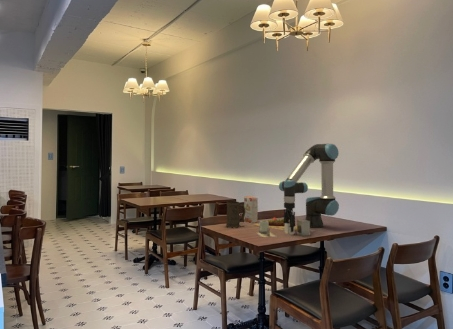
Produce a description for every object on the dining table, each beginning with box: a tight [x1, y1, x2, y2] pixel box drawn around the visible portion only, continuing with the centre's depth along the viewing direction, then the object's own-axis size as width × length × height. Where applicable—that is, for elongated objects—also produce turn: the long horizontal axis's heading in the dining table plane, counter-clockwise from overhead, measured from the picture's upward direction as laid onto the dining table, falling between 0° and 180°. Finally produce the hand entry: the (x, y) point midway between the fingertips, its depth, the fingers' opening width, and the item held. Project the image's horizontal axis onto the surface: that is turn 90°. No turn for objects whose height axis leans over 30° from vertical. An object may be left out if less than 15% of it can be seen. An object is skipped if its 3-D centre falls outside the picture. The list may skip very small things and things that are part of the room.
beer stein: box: [225, 200, 245, 228], centre depth 285 cm, size 15×11×20 cm
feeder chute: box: [296, 218, 311, 237], centre depth 254 cm, size 6×8×10 cm
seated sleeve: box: [258, 220, 270, 234], centre depth 253 cm, size 6×6×8 cm
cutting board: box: [253, 216, 297, 232], centre depth 282 cm, size 35×23×8 cm
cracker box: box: [243, 195, 259, 224], centre depth 307 cm, size 14×6×21 cm, turn 24°
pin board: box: [254, 227, 278, 238], centre depth 248 cm, size 11×16×6 cm
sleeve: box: [284, 223, 290, 235], centre depth 252 cm, size 6×6×8 cm
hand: (289, 234), depth 252 cm, fingers open, 7 cm apart
